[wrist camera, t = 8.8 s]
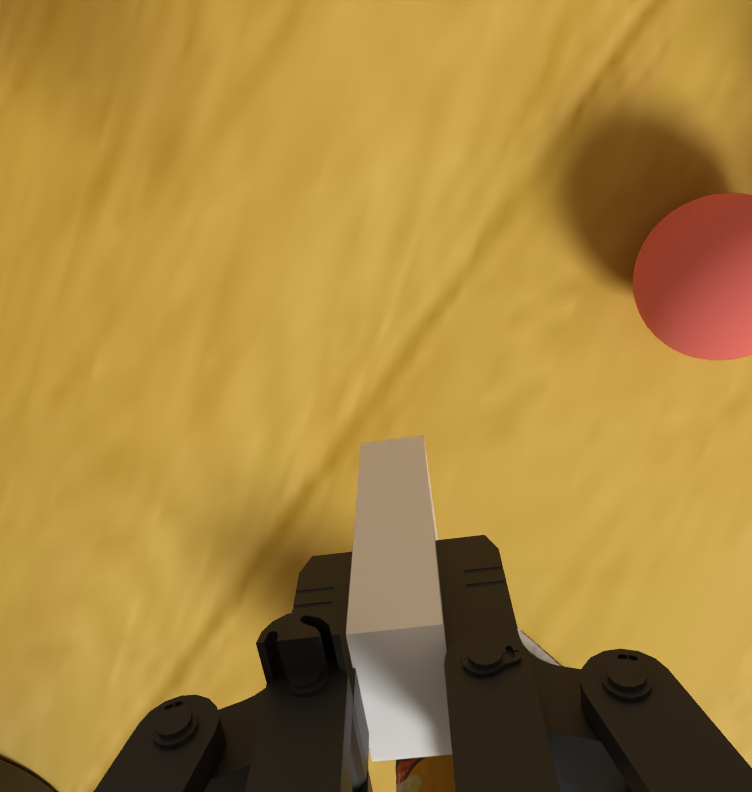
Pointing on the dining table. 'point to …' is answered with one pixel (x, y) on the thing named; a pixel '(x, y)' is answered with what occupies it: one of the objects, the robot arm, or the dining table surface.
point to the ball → (700, 278)
